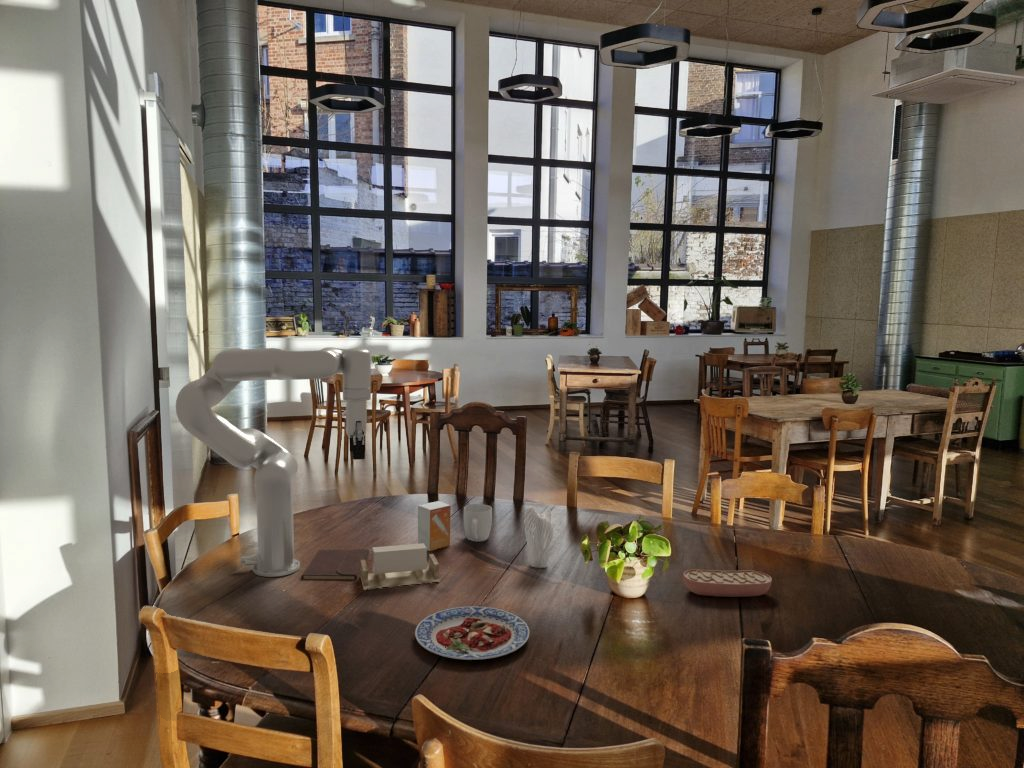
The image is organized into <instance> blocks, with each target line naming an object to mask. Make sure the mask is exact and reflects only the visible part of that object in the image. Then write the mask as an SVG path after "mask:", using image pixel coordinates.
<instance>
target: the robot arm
mask: <svg viewBox="0 0 1024 768" xmlns="http://www.w3.org/2000/svg"><path fill="white" fill-rule="evenodd" d="M371 357H372V356H371V352H370V350H368V349H365V348H348V349H345V348H338V347H337V348H336V347H329V346H328V347H323V348H321V349H319V350H304V351H302V350H301V351H300V350H299V351H297V350H296V351H295V350H294V351H291V350H290V351H289V350H285V349H284V350H283V349H280V348H276V347H275V348H274V347H269V348H251V349H250V348H249V349H246V348H245V349H244V348H239V347H231V348H229V349H225V350H222V351H220V352H219V353H217V354H216V355H215V357H214V359H213V362H212V366H211V367H210V368H209V369H208V370H207V371H206V372H205V373H204V374H203V375H202V376H201V377H200V378H198V379H195V380H192V381H190V382H188V383H187V384H185V385H184V386H183V387H182V388H180V389H179V392H178V394H177V396H176V400H175V412H176V416H177V419H178V421H179V423H180V424H181V426H182V427H183V429H185V430H186V431H187V432H188V433H189V434H190V435H192V436H193V437H195V438H196V439H197V440H199V441H200V442H201V443H203V444H204V445H206V446H207V447H208V448H209V449H210V450H211V451H213V452H215V453H216V454H217V455H218V456H220V457H221V458H223V459H224V460H225V461H227V462H228V463H229V464H230V465H232V466H233V467H236V468H239V469H245V468H249V467H250V466H252V467H253V468H255V469H256V470H255V473H254V479H253V485H254V492H255V502H256V518H257V519H256V521H257V522H256V523H257V524H256V525H257V526H256V527H257V528H256V530H257V531H256V533H257V551H256V554H253V555H252V556H241V557H240V563H241V564H240V565H243V564H245V566H246V567H247V566H252V573H253V574H254V575H256V576H259V577H264V578H265V577H266V578H276V577H283V576H287V575H291V574H293V573H296V572H297V571H298V570H299V569H300V567H301V563H300V561H299V560H298V559H296V558H295V543H294V542H295V540H294V537H295V536H294V503H293V501H294V500H293V491H292V484H293V483H292V482H293V480H294V478H295V477H296V476H297V473H298V462H297V459H296V458H295V456H294V455H293V454H292V453H291V452H290V451H288V450H287V449H286V448H284V447H283V446H282V445H280V444H279V443H278V442H276V441H275V440H274V439H272V438H271V437H270V436H268V435H267V434H265V433H264V432H262V431H261V430H258V429H256V428H251V427H249V428H248V427H247V428H241V429H240V428H239V427H238V426H235V425H234V424H232V423H231V422H230V421H229V420H228V419H226V418H225V417H224V416H221V415H220V414H217V413H216V412H215V411H214V410H213V409H212V408H213V407H215V406H217V405H218V404H220V403H221V402H222V401H223V400H224V399H225V398H226V397H227V396H228V395H229V394H230V393H231V392H232V391H233V390H234V389H235V388H236V387H237V386H239V384H240V383H241V382H247V381H249V382H250V381H271V380H272V381H273V380H275V381H283V380H284V381H286V380H287V381H288V380H296V381H297V380H302V381H303V380H317V379H318V380H321V379H323V380H324V379H329V378H331V377H334V376H335V375H337V374H342V400H343V401H346V402H345V433H346V435H347V437H348V438H349V451H350V452H351V453H352V460H354V461H355V460H357V461H358V460H365V458H366V457H365V456H366V444H365V437H366V435H367V421H368V420H367V417H368V416H367V412H368V411H367V408H368V406H367V403H368V401H369V400H370V401H371V399H372V389H371V388H372V387H371V386H372V383H371V381H372V380H371V379H372V377H371V374H372V373H371V372H372V371H371V370H372V369H371V368H372V366H371V361H372V360H371Z"/></svg>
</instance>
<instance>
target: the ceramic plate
mask: <svg viewBox="0 0 1024 768" xmlns="http://www.w3.org/2000/svg"><path fill="white" fill-rule="evenodd" d="M414 635H415V639H416V641H417V643H418V644H419V645H420V646H421V647H422V648H424V649H425V650H426V651H429V652H430V653H432V654H435V655H439V656H441V657H445V658H449V659H455V660H465V661H466V660H467V661H472V660H473V661H475V660H477V661H478V660H486V659H494V658H495V659H496V658H498V657H502V656H506V655H508V654H510V653H513V652H515V651H517V650H518V649H520V648H521V647H523V646H524V645H525V644H526V642H527V641H528V639H529V636H530V628H529V626H528V624H527V622H525V621H524V620H523V618H521V617H519V616H518V615H516V614H513V613H512V612H509V611H506V610H504V609H499V608H496V607H495V608H494V607H488V606H475V605H474V606H459V607H453V608H452V607H451V608H446V609H443V610H439V611H436V612H435V613H432V614H430V615H428V616H426V617H424V619H422V620H421V621H420V622H419V623H418V624H417V625H416V628H415V630H414ZM445 647H446V648H445Z"/></svg>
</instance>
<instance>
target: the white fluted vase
mask: <svg viewBox="0 0 1024 768" xmlns="http://www.w3.org/2000/svg"><path fill="white" fill-rule="evenodd" d="M551 509H552V508H551V507H548V508H547V509H546V510H545V511H544V512H542V513H538V512H537V511H536V509H535V507H533V506H532V505H529V506H528V508H526V510H524V517H525V518H524V521H523V524H524V525H525V527H524V533H525V540H526V543H527V548H528V549H527V551H528V554H529V559H530V566H531V567H533V568H539V569H541V568H546V567H547V566H548V564H549V557H550V544H551V543H552V541H553V537H554V527H553V523H552V510H551Z"/></svg>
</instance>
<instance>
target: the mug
mask: <svg viewBox="0 0 1024 768" xmlns="http://www.w3.org/2000/svg"><path fill="white" fill-rule="evenodd" d="M462 519H463V529H464V533H465V536H466V539H467V540H469V541H470V540H471V541H470V542H477V543H478V542H485V541H487V540H488V539H489V538H490V537H489V536H490V533H491V529H492V523H493V522H492V521H493V508H492V506H491V505H488V504H482V503H472V504H468V505H465V506H463V518H462Z"/></svg>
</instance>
